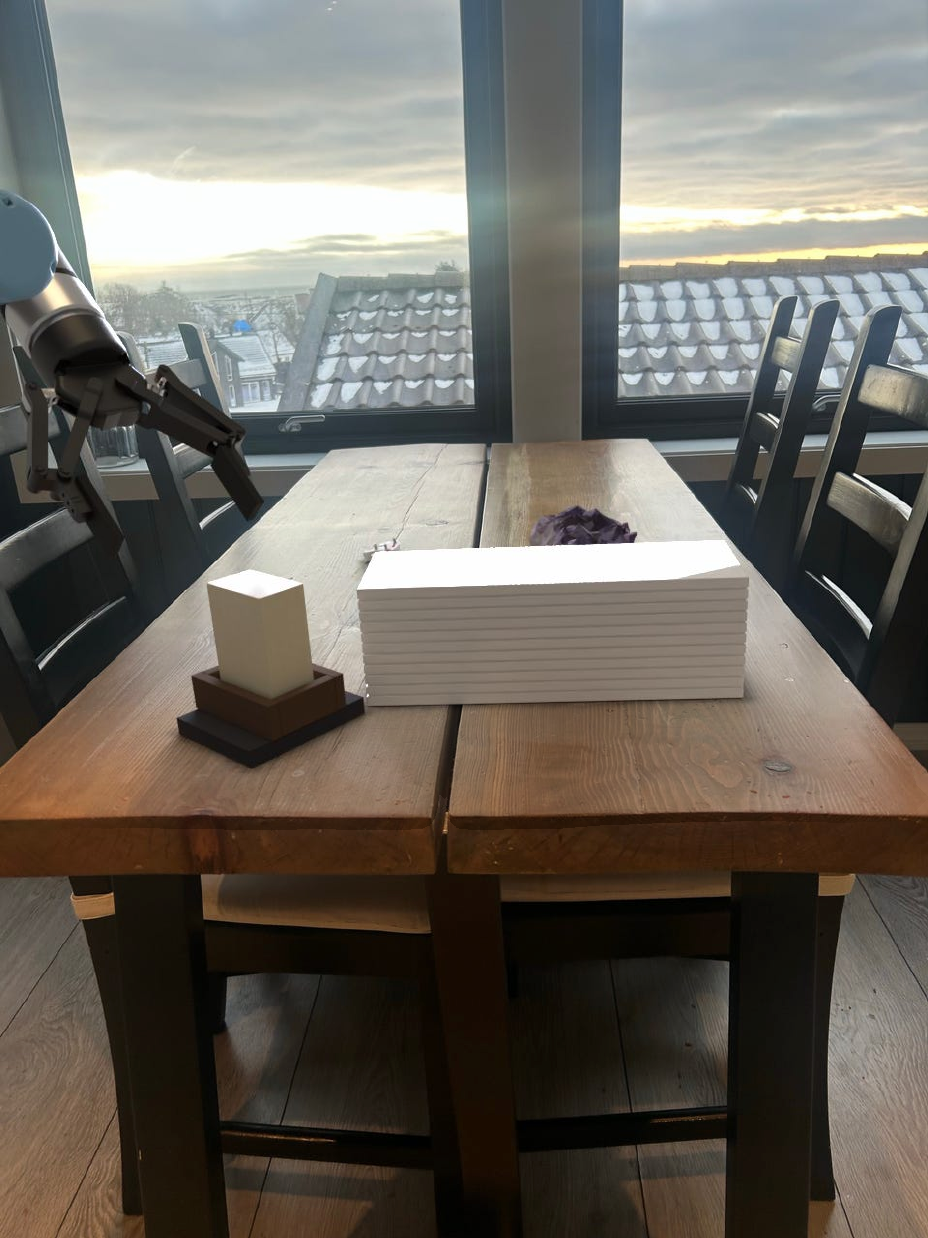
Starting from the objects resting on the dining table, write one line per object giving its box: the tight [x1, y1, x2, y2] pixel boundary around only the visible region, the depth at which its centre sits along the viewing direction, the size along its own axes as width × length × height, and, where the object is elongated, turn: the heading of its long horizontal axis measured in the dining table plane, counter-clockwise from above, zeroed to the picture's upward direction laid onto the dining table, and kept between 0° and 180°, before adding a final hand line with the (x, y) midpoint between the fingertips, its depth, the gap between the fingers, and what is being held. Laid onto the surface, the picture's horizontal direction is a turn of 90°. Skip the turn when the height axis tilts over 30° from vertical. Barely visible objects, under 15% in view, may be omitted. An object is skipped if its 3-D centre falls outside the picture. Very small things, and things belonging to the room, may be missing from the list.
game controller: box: [362, 537, 423, 562], centre depth 127 cm, size 6×12×3 cm, turn 101°
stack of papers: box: [356, 539, 750, 707], centre depth 89 cm, size 32×11×11 cm, turn 87°
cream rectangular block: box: [205, 569, 314, 700], centre depth 82 cm, size 4×7×11 cm, turn 48°
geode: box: [528, 504, 638, 547], centre depth 110 cm, size 20×12×10 cm, turn 9°
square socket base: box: [176, 662, 366, 769], centre depth 84 cm, size 12×10×4 cm
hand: (190, 529), depth 84 cm, fingers open, 13 cm apart
